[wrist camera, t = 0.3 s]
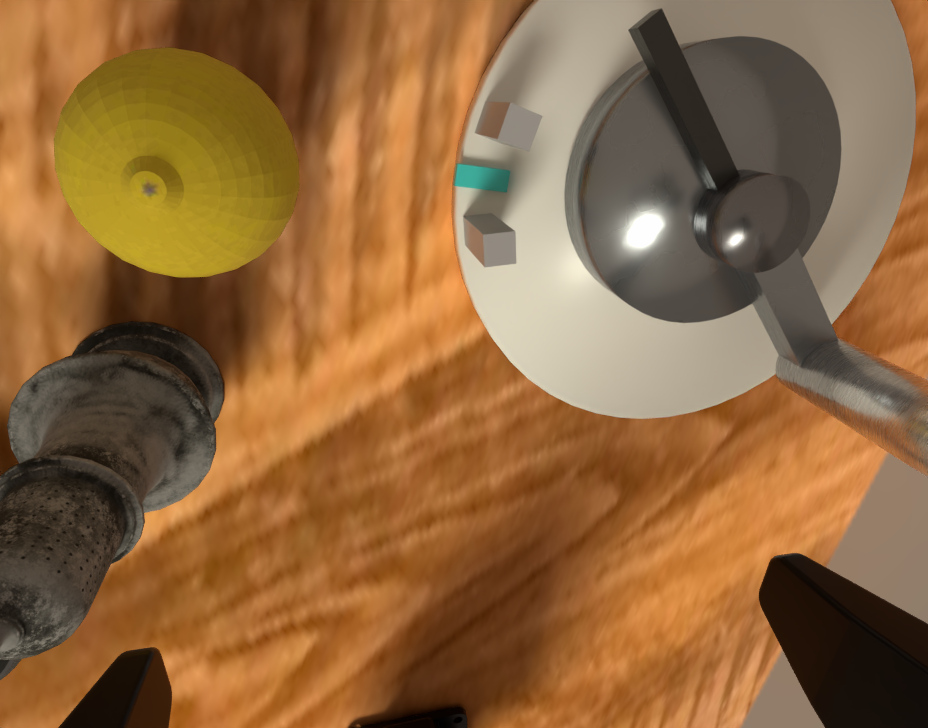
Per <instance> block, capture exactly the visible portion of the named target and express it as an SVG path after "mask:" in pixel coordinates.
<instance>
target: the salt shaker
mask: <svg viewBox="0 0 928 728" xmlns="http://www.w3.org/2000/svg"><path fill="white" fill-rule="evenodd" d="M223 401H224V384H223V381H222V378H221V375H220V372H219V368H218V366H217V365H216V363H215V362H214V360H213V359H212V358H211V356H210V355H209V353H208V352H207V351H206V350H205V349H204V348H203V347H202V346H200V345H199V344H198V343H197V342H196V341H195V340H194V339H192V338H191V337H189V336H187V335H185V334H183V333H181V332H180V331H178V330H176V329H174V328H170V327H167V326H163V325H160V324H156V323H149V322H133V321H132V322H126V323H120V324H114V325H110V326H108V327H106V328H103V329H101V330H99V331H97V332H94V333H93V334H91V335H90V336H89V337H88V338H87V339H85V340H84V341H83V342H82V343H81V344H80V345H78V346H77V348H76V350H75V351H74V353H73V355H72V356H68V357H65V358H63V359H61V360H58V361H56V362H54V363H52V364H50V365H47V366H45V367H43V368H42V369H41V370H39V371H38V372H37V373H36V374H35V375H33V376H32V377H31V378H30V379H29V380H28V381H26V382H25V383H24V384H23V385H22V387H21V389H20V390H19V392H18V394H17V395H16V397H15V399H14V400H13V402H12V404H11V408H10V413H9V419H8V424H7V428H8V433H9V439H10V445H11V449H12V451H13V453H14V454H15V456H16V458H17V460H18V462H19V464H17V465H15V466H12V467H11V468H9V469H8V470H7V471H6V472H5V473H4V474H2V475H1V476H0V659H3V660H10V659H23V658H27V657H31V656H36V655H38V654H40V653H42V652H45V651H47V650H49V649H51V648H53V647H55V646H58V645H60V644H61V643H62V642H64V641H65V640H66V639H67V638H69V637H70V636H71V635H72V634H73V633H74V632H75V630H76V629H77V628H78V627H79V626H80V624H81V623H82V621H83V620H84V618H85V617H86V615H87V613H88V611H89V609H90V607H91V605H92V603H93V601H94V599H95V596H96V594H97V592H98V590H99V588H100V586H101V584H102V582H103V579H104V577H105V575H106V573H107V571H108V569H109V567H110V565H111V564H112V563H114V562H116V561H119V560H120V559H121V558H123V557H124V556H125V555H126V554H128V553H129V552H130V551H131V550H132V549H133V548H134V546H135V545H136V543H137V542H138V540H139V539H140V537H141V534H142V530H143V527H144V523H145V519H144V513H146V512H150V511H155V510H160V509H162V508H164V507H167V506H169V505H171V504H173V503H175V502H178V501H180V500H182V499H183V498H184V497H185V496H187V495H188V494H189V493H190V492H192V491H193V490H194V489H195V488H197V487H198V486H199V484H200V483H201V482H202V480H203V479H204V477H205V476H206V474H207V473H208V472H209V470H210V468H211V464H212V461H213V458H214V455H215V452H216V428H215V425H214V422H215V421H216V420H217V418H218V417H219V414H220V410H221V407H222V404H223Z"/></svg>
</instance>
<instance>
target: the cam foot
mask: <svg viewBox="0 0 928 728" xmlns="http://www.w3.org/2000/svg"><path fill="white" fill-rule="evenodd" d="M628 31H629V33H630V35H631V37H632V39H633V41H634V43H635V45H636V47H637V49H638V51H639V53H640V55H641V57H642V59H643V60H642V61H640V62H638V63H637V64H635V65H634V66H633V67H631V68H630V69H629V70H627V71H626V72H625V73H624V74H622V75H621V76H620V77H619V78H618V79H617V80H616V81H615V82H614V83H613V84H612V85H611V86H610V87H609V88H608V89H607V90H606V91H605V93H604V94H603V95H602V96H601V98H600V99H599V100H598V101H597V103H596V104H595V105H594V107H593V109H592V110H591V112H590V113H589V115H588V117H587V118H586V120H585V122H584V124H583V126H582V128H581V130H580V132H579V134H578V136H577V138H576V141H575V144H574V147H573V150H572V153H571V156H570V160H569V164H568V169H567V173H566V182H565V192H564V199H565V215H566V222H567V228H568V231H569V235H570V238H571V242H572V244H573V246H574V249H575V251H576V253H577V255H578V257H579V259H580V260H581V262H582V263H583V265H584V267H585V268H586V269H587V271H588V272H589V273H590V274H591V275H592V276H593V278H594V279H595V280H596V281H598V282H599V283H600V284H601V285H602V286H603V287H605V288H606V289H607V290H609V291H610V292H612V293H613V294H614V295H616V296H617V297H619V298H620V299H621V300H623V301H624V302H626V303H627V304H629V305H630V306H632V307H633V308H635V309H637V310H638V311H640V312H641V313H644V314H646V315H649V316H651V317H653V318H656V319H660V320H664V321H668V322H678V323H696V322H703V321H709V320H714V319H717V318H721V317H724V316H727V315H730V314H732V313H734V312H737V311H739V310H741V309H744V308H745V307H747V306H749V305H750V304H753V306H754V308H755V310H756V312H757V314H758V316H759V318H760V320H761V321H762V323H763V325H764V327H765V329H766V331H767V333H768V335H769V337H770V339H771V341H772V343H773V345H774V347H775V349H776V351H777V353H778V358H777V361H776V376H777V378H778V380H779V381H780V383H782V384H783V385H784V386H786V387H787V388H789V389H791V390H792V391H794V392H795V393H797V394H798V395H800V396H801V397H803V398H805V399H806V400H808V401H809V402H811V403H812V404H814V405H815V406H817V407H819V408H820V409H822V410H823V411H825V412H826V413H828V414H829V415H831V416H833V417H834V418H836V419H837V420H839V421H840V422H842V423H844V424H845V425H847V426H848V427H850V428H851V429H853V430H854V431H856V432H858V433H859V434H861V435H862V436H864V437H865V438H867V439H868V440H870V441H872V442H873V443H875V444H876V445H878V446H879V447H881V448H882V449H884V450H886V451H887V452H889V453H890V454H892V455H894V456H895V457H896V458H898V459H900V460H901V461H903V462H904V463H906V464H907V465H909V466H911V467H912V468H914V469H915V470H917V471H918V472H920V473H921V474H923V475H925V476H926V477H928V380H926V379H924V378H922V377H920V376H918V375H915V374H913V373H911V372H909V371H907V370H905V369H903V368H901V367H899V366H897V365H895V364H892V363H890V362H888V361H886V360H884V359H882V358H880V357H878V356H876V355H874V354H872V353H869V352H867V351H865V350H863V349H861V348H859V347H857V346H855V345H853V344H851V343H849V342H847V341H844V340H842V339H840V338H838V337H837V336H836V334H835V332H834V329H833V327H832V325H831V323H830V320H829V318H828V316H827V314H826V311H825V309H824V307H823V305H822V302H821V300H820V298H819V295H818V293H817V291H816V289H815V286H814V284H813V282H812V280H811V277H810V275H809V273H808V271H807V268H806V266H805V264H804V261H803V259H802V258H803V257H804V256H805V254H806V253H807V252H808V250H809V249H810V247H811V245H812V244H813V242H814V241H815V239H816V237H817V236H818V234H819V232H820V230H821V228H822V226H823V224H824V222H825V220H826V218H827V215H828V212H829V210H830V207H831V205H832V202H833V198H834V195H835V191H836V188H837V184H838V178H839V172H840V165H841V149H842V148H841V131H840V125H839V120H838V114H837V111H836V108H835V105H834V102H833V99H832V96H831V94H830V92H829V90H828V88H827V86H826V84H825V82H824V81H823V80H822V78H821V77H820V75H819V74H818V73H817V71H816V70H815V69H814V68H813V67H812V66H811V65H810V64H809V63H808V62H807V61H806V60H805V59H804V58H803V57H802V56H800V55H799V54H797V53H796V52H795V51H793V50H792V49H790V48H788V47H786V46H784V45H782V44H779V43H777V42H775V41H771V40H767V39H763V38H759V37H747V36H735V37H725V38H717V39H710V40H704V41H697V42H690V43H684V44H680V45H679V44H678V42H677V40H676V37H675V35H674V33H673V31H672V29H671V27H670V25H669V22H668V20H667V18H666V16H665V14H664V12H663V10H662V8H660V9H656V10H653V11H650V12H649V13H648V14H647V15H646V16H644V17H643V18H642V19H641V20H639V21H638V22H637V23H636V24H635V25H633V26H632V27H631V28H630V29H629V30H628Z"/></svg>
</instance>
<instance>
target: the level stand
mask: <svg viewBox="0 0 928 728" xmlns="http://www.w3.org/2000/svg"><path fill="white" fill-rule="evenodd" d="M660 8H662V10H663V12H664V14H665V16H666V18H667V20H668V22H669V25H670V27H671V29H672V31H673V33H674V35H675V37H676V40H677V42H678V44H679V45H680V44H684V43H690V42H697V41H704V40H710V39H717V38H725V37H735V36H747V37H759V38H763V39H767V40H771V41H775V42H777V43H779V44H782V45H784V46H786V47H788V48H790V49H792V50H793V51H795V52H796V53H797V54H799V55H800V56H802V57H803V58H804V59H805V60H806V61H807V62H808V63H809V64H810V65H811V66H812V67H813V68H814V69H815V70H816V71H817V73H818V74H819V75H820V77H821V78H822V80H823V81H824V82H825V84H826V86H827V88H828V90H829V92H830V94H831V96H832V99H833V102H834V105H835V108H836V111H837V114H838V120H839V125H840V131H841V148H842V149H841V165H840V172H839V178H838V184H837V188H836V191H835V195H834V198H833V202H832V205H831V207H830V210H829V212H828V215H827V218H826V220H825V222H824V224H823V226H822V228H821V230H820V232H819V234H818V236H817V237H816V239H815V241H814V242H813V244H812V245H811V247H810V249H809V250H808V252H807V253H806V254H805V256H804V257H803V258H802V259H803V261H804V264H805V266H806V268H807V271H808V273H809V275H810V277H811V280H812V282H813V284H814V286H815V289H816V291H817V293H818V295H819V298H820V300H821V302H822V305H823V307H824V309H825V311H826V314H827V316H828V318H829V320H830V323H831V325H832V324H833V322H834V321H835V320H836V319H837V318H838V316H839V315H840V314H841V313H842V311H843V310H844V309H845V308H846V306H847V305H848V304H849V303H850V302H851V300H852V299H853V297H854V296H855V294H856V293H857V291H858V290H859V288H860V287H861V285H862V284H863V282H864V281H865V279H866V278H867V276H868V275H869V273H870V271H871V269H872V267H873V266H874V264H875V262H876V260H877V258H878V256H879V255H880V253H881V251H882V249H883V247H884V245H885V242H886V240H887V238H888V236H889V233H890V231H891V229H892V226H893V224H894V222H895V219H896V216H897V213H898V210H899V207H900V204H901V201H902V198H903V195H904V192H905V188H906V184H907V179H908V175H909V170H910V166H911V161H912V155H913V146H914V137H915V129H916V92H915V84H914V76H913V67H912V61H911V57H910V53H909V49H908V45H907V41H906V37H905V33H904V30H903V28H902V26H901V23H900V21H899V18H898V16H897V13H896V11H895V9H894V6H893V4H892V2H891V0H534V1H533V2H532V3H531V4H530V5H529V6H528V7H527V8H526V9H525V11H524V12H523V13H522V14H521V16H520V17H519V18H518V20H517V21H516V23H515V24H514V25H513V27H512V28H511V29H510V31H509V32H508V33H507V35H506V36H505V38H504V39H503V40H502V42H501V43H500V45H499V47H498V48H497V50H496V52H495V54H494V56H493V57H492V59H491V61H490V63H489V65H488V66H487V68H486V70H485V72H484V74H483V75H482V77H481V80H480V82H479V85H478V87H477V89H476V92H475V94H474V97H473V99H472V102H471V104H470V107H469V109H468V111H467V115H466V119H465V122H464V126H463V129H462V133H461V137H460V140H459V144H458V148H457V155H456V161H455V168H454V175H453V182H452V225H453V234H454V244H455V250H456V255H457V259H458V263H459V267H460V271H461V275H462V279H463V281H464V284H465V287H466V289H467V292H468V294H469V297H470V299H471V302H472V305H473V306H474V308H475V310H476V312H477V313H478V315H479V317H480V319H481V321H482V322H483V324H484V326H485V328H486V329H487V331H488V332H489V334H490V335H491V337H492V338H493V340H494V341H495V343H496V344H497V345H498V346H499V348H500V349H501V350H502V352H503V353H504V354H505V355H506V357H507V358H508V359H509V361H510V362H511V363H512V364H513V365H514V366H515V367H516V368H517V369H519V370H520V371H521V372H522V373H523V374H524V375H525V376H526V377H527V378H528V379H529V380H530V381H532V382H533V383H535V384H536V385H537V386H539V387H540V388H542V389H543V390H545V391H546V392H547V393H549V394H550V395H552V396H554V397H556V398H558V399H560V400H562V401H564V402H566V403H568V404H570V405H572V406H575V407H578V408H581V409H584V410H587V411H590V412H593V413H597V414H603V415H608V416H614V417H619V418H638V419H648V418H661V417H671V416H676V415H681V414H686V413H691V412H695V411H699V410H702V409H705V408H708V407H711V406H714V405H717V404H720V403H722V402H725V401H727V400H729V399H732V398H734V397H736V396H738V395H741V394H743V393H745V392H746V391H748V390H750V389H752V388H754V387H755V386H757V385H759V384H761V383H762V382H764V381H766V380H768V379H769V378H770V377H772V376H773V375H775V374H776V361H777V358H778V353H777V351H776V349H775V347H774V345H773V343H772V341H771V339H770V337H769V335H768V333H767V331H766V329H765V327H764V325H763V323H762V321H761V320H760V318H759V316H758V314H757V312H756V310H755V308H754V306H753V304H750V305H749V306H747V307H745V308H744V309H741V310H739V311H737V312H734V313H732V314H730V315H727V316H724V317H721V318H717V319H714V320H709V321H703V322H696V323H678V322H668V321H664V320H660V319H656V318H653V317H651V316H649V315H646V314H644V313H641V312H640V311H638V310H637V309H635V308H633V307H632V306H630V305H629V304H627V303H626V302H624V301H623V300H621V299H620V298H619V297H617V296H616V295H614V294H613V293H612V292H610V291H609V290H607V289H606V288H605V287H603V286H602V285H601V284H600V283H599V282H598V281H596V280H595V279H594V278H593V276H592V275H591V274H590V273H589V272H588V271H587V269H586V268H585V267H584V265H583V263H582V262H581V260H580V259H579V257H578V255H577V253H576V251H575V249H574V246H573V244H572V242H571V238H570V235H569V231H568V228H567V222H566V215H565V199H564V192H565V182H566V173H567V169H568V164H569V160H570V156H571V153H572V150H573V147H574V144H575V141H576V138H577V136H578V134H579V132H580V130H581V128H582V126H583V124H584V122H585V120H586V118H587V117H588V115H589V113H590V112H591V110H592V109H593V107H594V105H595V104H596V103H597V101H598V100H599V99H600V98H601V96H602V95H603V94H604V93H605V91H606V90H607V89H608V88H609V87H610V86H611V85H612V84H613V83H614V82H615V81H616V80H617V79H618V78H619V77H620V76H621V75H622V74H624V73H625V72H626V71H627V70H629V69H630V68H631V67H633V66H634V65H635V64H637V63H638V62H640V61H642V60H643V59H642V57H641V55H640V53H639V51H638V49H637V47H636V45H635V43H634V41H633V39H632V37H631V35H630V33H629V31H628V30H629V29H630V28H631V27H632V26H633V25H635V24H636V23H637V22H638V21H639V20H641V19H642V18H643V17H644V16H646V15H647V14H648V13H649V12H650V11H653V10H656V9H660Z"/></svg>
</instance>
